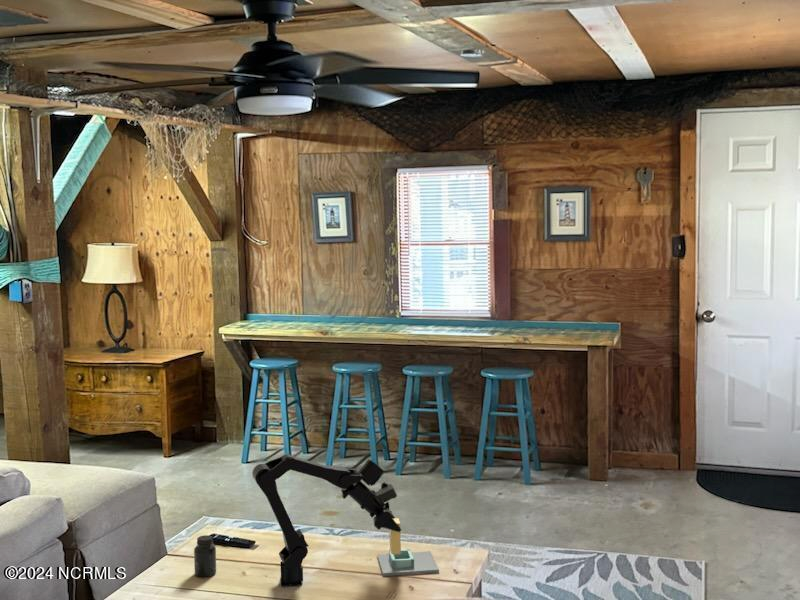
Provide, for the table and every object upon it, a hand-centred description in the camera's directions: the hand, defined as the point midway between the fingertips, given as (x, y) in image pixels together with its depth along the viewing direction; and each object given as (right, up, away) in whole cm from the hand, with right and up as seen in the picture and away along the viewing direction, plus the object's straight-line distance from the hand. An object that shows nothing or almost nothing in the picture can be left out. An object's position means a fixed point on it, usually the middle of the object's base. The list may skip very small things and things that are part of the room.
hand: (399, 527), depth 287 cm
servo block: (-1, -8, +1) cm, 8 cm away
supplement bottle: (-62, -15, 0) cm, 64 cm away
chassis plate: (+3, -14, +6) cm, 15 cm away
